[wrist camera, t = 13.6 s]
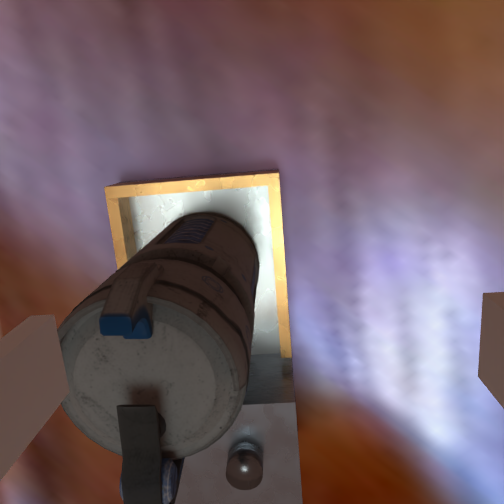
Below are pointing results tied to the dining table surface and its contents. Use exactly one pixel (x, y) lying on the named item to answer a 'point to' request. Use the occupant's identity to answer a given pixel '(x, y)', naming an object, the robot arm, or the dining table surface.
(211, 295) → the beverage bottle
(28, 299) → the dining table surface
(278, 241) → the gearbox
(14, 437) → the robot arm
